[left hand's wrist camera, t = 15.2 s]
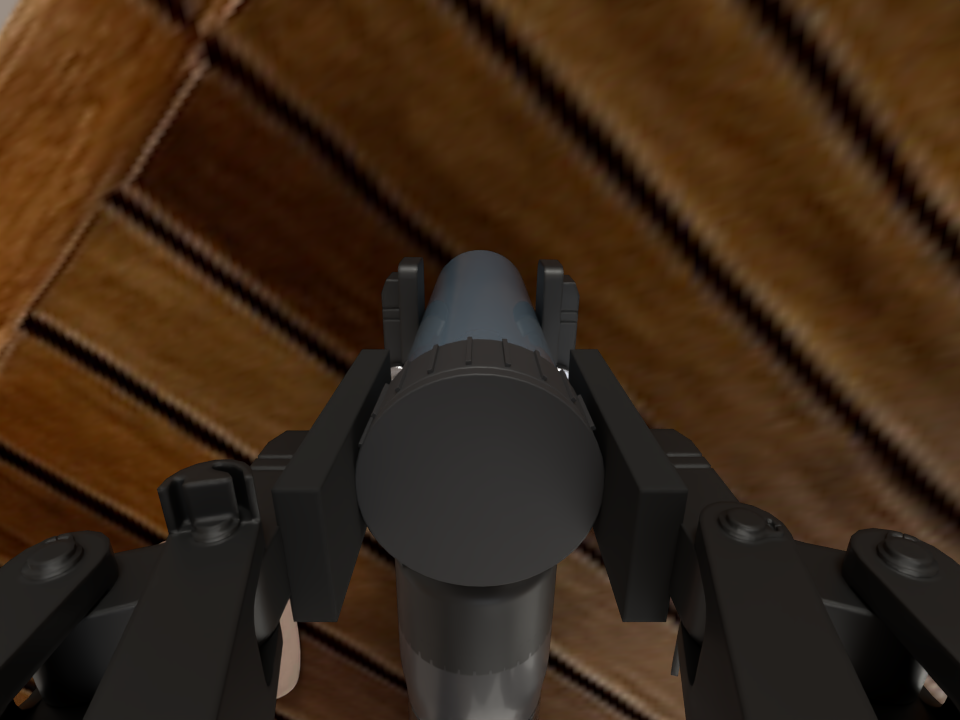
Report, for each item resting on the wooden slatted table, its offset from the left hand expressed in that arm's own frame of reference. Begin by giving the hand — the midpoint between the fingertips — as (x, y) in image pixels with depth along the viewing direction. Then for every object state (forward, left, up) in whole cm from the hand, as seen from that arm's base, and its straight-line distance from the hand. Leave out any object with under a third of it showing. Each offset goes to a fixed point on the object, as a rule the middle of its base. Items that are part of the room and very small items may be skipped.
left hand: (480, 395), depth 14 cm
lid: (0, 0, +4) cm, 4 cm away
